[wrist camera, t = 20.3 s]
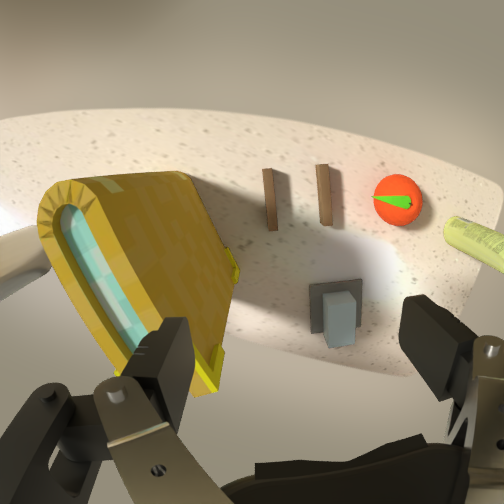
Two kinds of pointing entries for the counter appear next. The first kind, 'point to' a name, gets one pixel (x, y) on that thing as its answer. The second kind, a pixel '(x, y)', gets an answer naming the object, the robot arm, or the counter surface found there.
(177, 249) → the book
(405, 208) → the clementine
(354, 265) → the counter surface
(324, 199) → the slot
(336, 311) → the block
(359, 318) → the mat
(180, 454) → the robot arm
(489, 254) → the tube
